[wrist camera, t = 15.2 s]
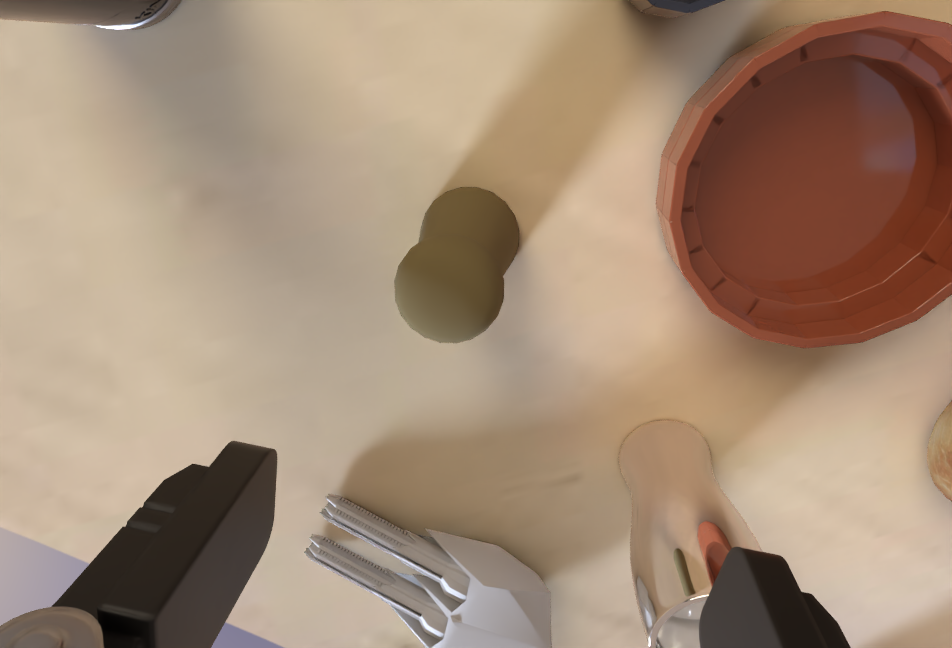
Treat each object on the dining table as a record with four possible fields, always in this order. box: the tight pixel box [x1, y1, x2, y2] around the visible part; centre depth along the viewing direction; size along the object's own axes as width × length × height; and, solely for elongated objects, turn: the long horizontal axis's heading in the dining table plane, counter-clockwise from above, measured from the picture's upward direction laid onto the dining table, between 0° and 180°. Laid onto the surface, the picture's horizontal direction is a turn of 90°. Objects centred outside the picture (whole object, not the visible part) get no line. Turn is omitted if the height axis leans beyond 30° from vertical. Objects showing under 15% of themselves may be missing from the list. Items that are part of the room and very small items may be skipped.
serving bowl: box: [656, 11, 952, 348], centre depth 33 cm, size 16×16×5 cm
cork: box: [394, 187, 519, 343], centre depth 33 cm, size 6×6×11 cm
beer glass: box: [619, 420, 763, 648], centre depth 36 cm, size 7×7×15 cm
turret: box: [304, 494, 552, 648], centre depth 47 cm, size 10×20×5 cm, turn 67°
